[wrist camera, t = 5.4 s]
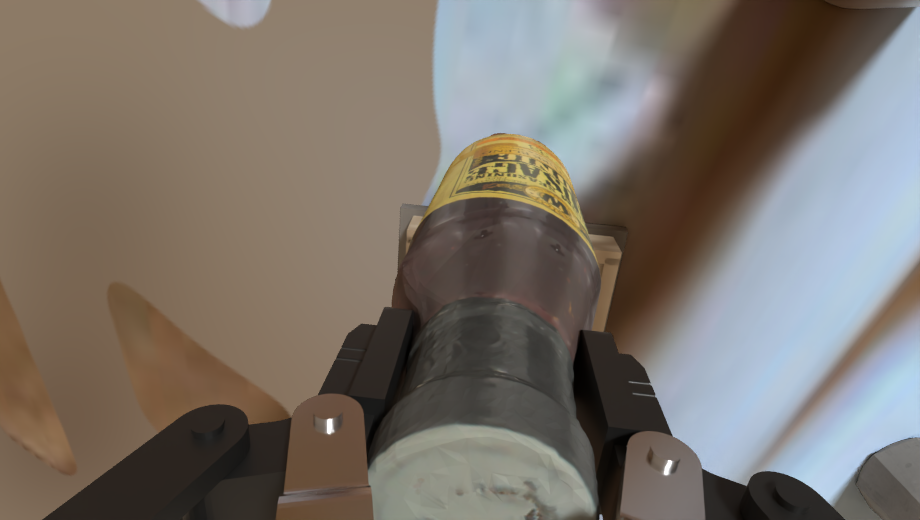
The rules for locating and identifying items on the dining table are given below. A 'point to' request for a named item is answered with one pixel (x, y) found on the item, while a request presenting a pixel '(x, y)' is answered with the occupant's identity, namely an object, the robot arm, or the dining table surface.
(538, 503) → the sauce bottle
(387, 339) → the robot arm
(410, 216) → the keyhole board
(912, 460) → the coffeepot
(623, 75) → the dining table surface
